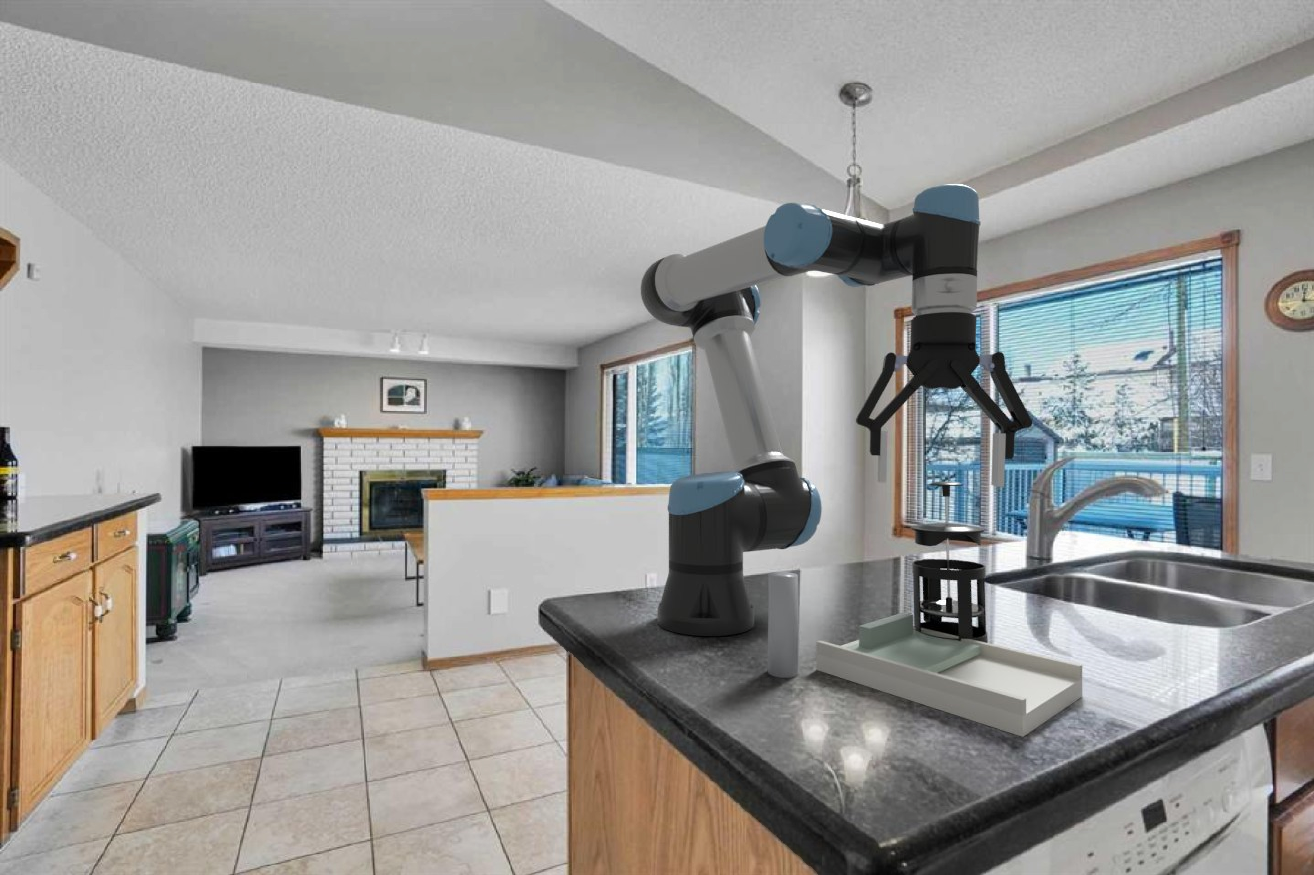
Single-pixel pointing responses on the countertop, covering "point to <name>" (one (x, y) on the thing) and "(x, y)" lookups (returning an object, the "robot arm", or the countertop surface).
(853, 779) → the countertop surface
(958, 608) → the french press
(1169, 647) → the countertop surface
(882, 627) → the lid
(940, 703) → the housing
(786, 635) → the pin
